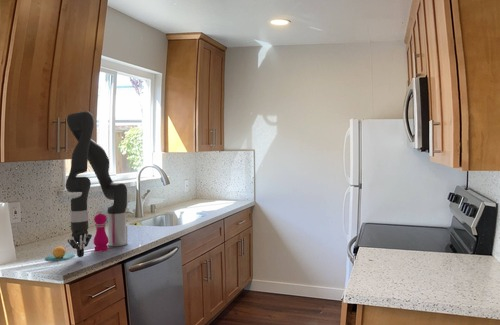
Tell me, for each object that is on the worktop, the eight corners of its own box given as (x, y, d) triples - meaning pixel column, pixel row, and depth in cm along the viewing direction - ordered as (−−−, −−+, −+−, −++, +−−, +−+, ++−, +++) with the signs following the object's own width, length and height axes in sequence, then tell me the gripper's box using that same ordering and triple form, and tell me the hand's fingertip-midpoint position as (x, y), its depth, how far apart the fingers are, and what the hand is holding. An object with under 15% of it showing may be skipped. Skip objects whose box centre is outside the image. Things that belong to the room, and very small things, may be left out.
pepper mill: (103, 247, 215) (102, 209, 214) (111, 249, 210) (110, 210, 209) (90, 250, 209) (89, 211, 208) (98, 252, 205) (97, 212, 204)
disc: (61, 252, 205) (61, 252, 205) (80, 255, 200) (80, 254, 200) (38, 259, 193) (38, 259, 193) (58, 262, 188) (58, 261, 188)
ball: (59, 247, 199) (66, 244, 197) (61, 258, 198) (69, 255, 196) (49, 248, 194) (57, 245, 192) (51, 260, 193) (59, 257, 191)
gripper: (84, 217, 198) (85, 252, 199) (61, 221, 186) (63, 259, 187) (96, 218, 195) (97, 254, 196) (74, 222, 183) (75, 261, 184)
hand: (80, 256), depth 191 cm, fingers closed
